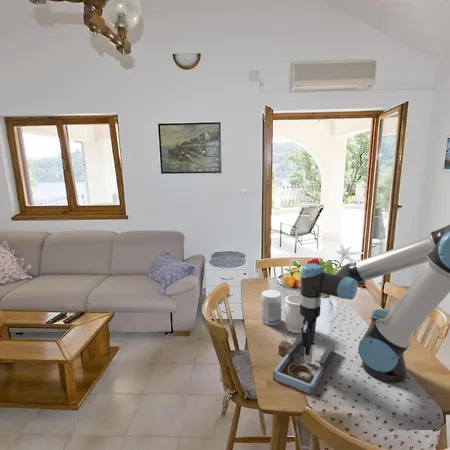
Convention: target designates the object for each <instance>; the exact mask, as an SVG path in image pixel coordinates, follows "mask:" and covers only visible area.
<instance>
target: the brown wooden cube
mask: <svg viewBox="0 0 450 450" xmlns="http://www.w3.org/2000/svg"><path fill="white" fill-rule="evenodd" d="M291 345H292V343H291V342H289V341H286V340H281V341H280V343H279V345H278V355H281V356H284V357H285V356H286V354H287V350H288V349H289V348H290V347H291Z"/></svg>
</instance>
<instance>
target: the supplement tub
mask: <svg viewBox="0 0 450 450" xmlns="http://www.w3.org/2000/svg"><path fill="white" fill-rule="evenodd" d="M261 321H262V323H263V324H265V325H267V326H277V325H280V323H281V321H282V292H280V291H278V290H275V289H267V290H263V291H262V292H261Z"/></svg>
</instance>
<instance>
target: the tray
mask: <svg viewBox="0 0 450 450" xmlns="http://www.w3.org/2000/svg"><path fill="white" fill-rule="evenodd" d="M288 363H290V361H289V354H286V356H284V357H283V359H281V360H280V362H279V363H278V364H277V366H276V367H275V369H273V372H272V380H275V381H277V382H279V383H282V384H284V385H287V386H289V387H292V388H294V389H297V390H300V391H301V392H304V393H306V394H310V395H313V393H314V391H315V389H316V387H317V386H318V384H319V382H320V380H321V378H322V376H323V375H324V372H323V366H320V365H319V368H318V369H317V371H316V373H315V375H314V376H313V378H312V380H311V382H310V383H309V382H303V381H301V380H298V379H296V378H293V377H290V376H288V374H284V373H282V372H283V370H284V369H285V368H286V366H287V365H288Z"/></svg>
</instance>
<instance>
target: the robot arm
mask: <svg viewBox="0 0 450 450" xmlns="http://www.w3.org/2000/svg"><path fill="white" fill-rule="evenodd" d="M425 263H428V264H427V265H426V266H425V267H424V269H423V270H422V271H421V273H420V274H419V275H418V276H417V277H416V279H415V281H413V282H412V284H411V285H410V286H409V287H408V289H407V290H406V291H405V293H404V294H403V295H401V297H400V299H399V300H398V301H397V302H396V304H395V305H394V306H393V307H392V309H391V310H389V309H383V308H382V309H381V308H379V309H374V310H373V311H372V312H371V316H370V317H371V318H370V319H371V320H370V324H369V327H368V328H367V329H366V331H365V333H364V335H363V337H362V339H361V340H360V341H359V343H358V346H357V347H358V349H357V350H358V354H359V357H360V359H361V360H362V362H361V366H362V369H363V370H364V371H365V372H366V373H367V374H368V375H369V376H371V377H372V378H374V379H376V380H379V381H382V382H386V383H401V382H403V381H405V379H406V378H407V373H408V369H407V365H406V362H405V357H404V353H405V352H406V351H407V350H408V348H410V346H411V343H412V342H411V339H410V337H412V336H413V334H415V332H416V331H417V330H418V329H419V328H420V326H422V324H423V323H424V322H425V321H426V319H427V318H428V317H429V316H430V315H431V314H432V313H433V312H434V311H435V310H436V308H437V307H438V306H439V305H440V303H442V301H443V300H444V299H445V298H446V297H447V296H448V295H449V294H450V224H448V225H446V226H443V227H440V228H439V229H437V230H433V231H431V232H429V234H428V236H426V237H424V238H420V239H418V240H415V241H413V242H410V243H407V244H404V245H401V246H399V247H396V248H392V249H390V250H387V251H385V252H382V253H378V254H375V255H373V256H370V257H367V258H364V259H361V260H359V261H357V262H350V263H347V264H345V265H342V266H341V268H340V269H339V270H338V271H337V272H335V273H328V272H324V270H323V267H322V266H321V265H320V264H318V263H306V264H303V265H302V266H301V272H300V293H299V294H298V295H299V296H300V303H301V304H300V314H301V315H302V316H303V317H304V319H303V324H304V325H303V327H302V328H301V331H302V332H301V333H302V345H301V346H302V348H303V361H304V362H308V363H312V361H313V346H316V343H315V342H314V341H315V338H316V337H315V334H316V328H317V327H316V326H317V320H318V319H317V318H318V317H320V316H321V306H322V305H321V303H322V294H324V295H327V296H333V297H336V298H340V299H345V300H354V298H356V295H357V293H358V284H361V283H364V282H366V281H370V280H373V279H377V278H380V277H382V276H386V275H389V274H393V273H396V272H398V271H403V270H405V269H408V268H409V269H410V268H412V267H416V266H417V265H421V264H425Z"/></svg>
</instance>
